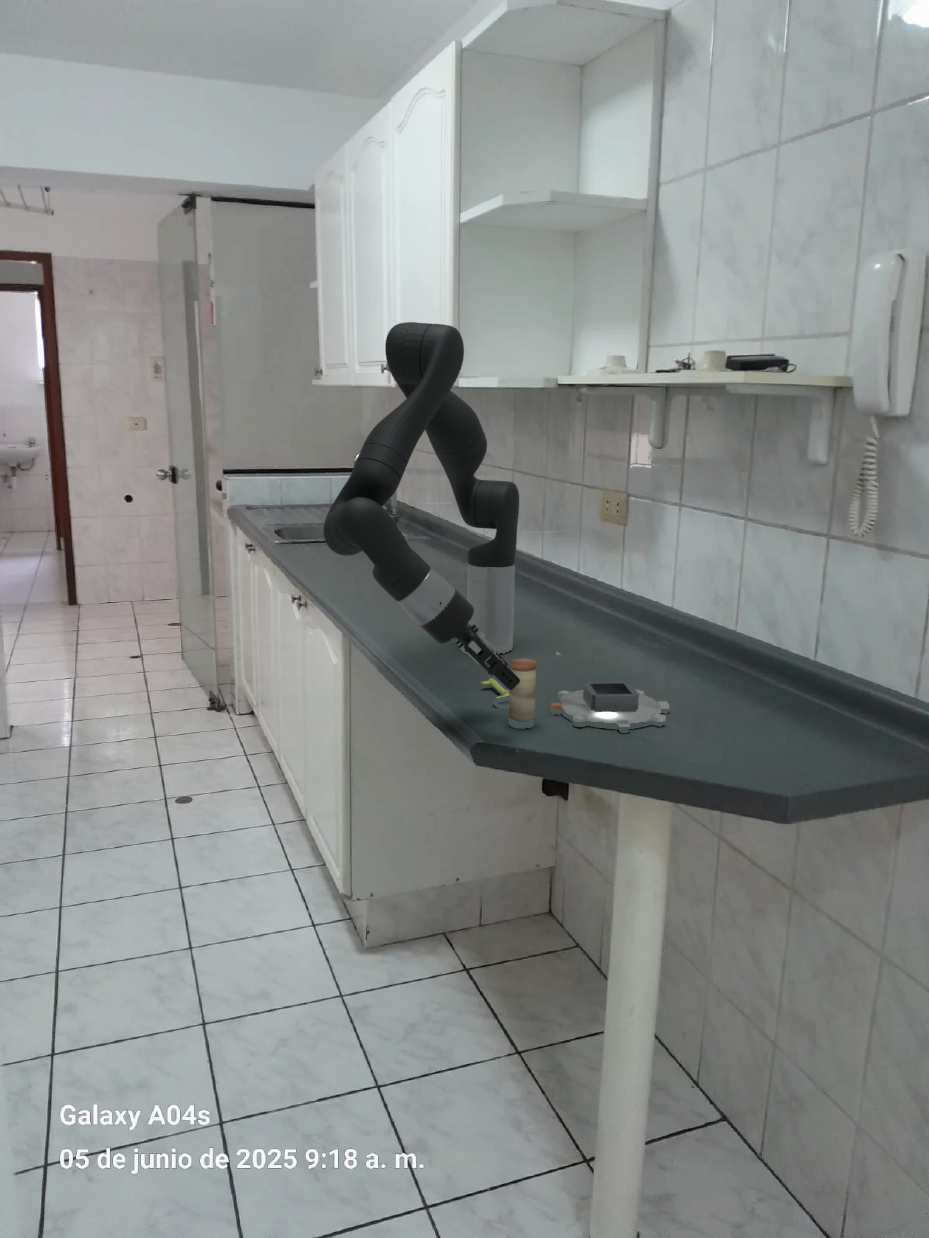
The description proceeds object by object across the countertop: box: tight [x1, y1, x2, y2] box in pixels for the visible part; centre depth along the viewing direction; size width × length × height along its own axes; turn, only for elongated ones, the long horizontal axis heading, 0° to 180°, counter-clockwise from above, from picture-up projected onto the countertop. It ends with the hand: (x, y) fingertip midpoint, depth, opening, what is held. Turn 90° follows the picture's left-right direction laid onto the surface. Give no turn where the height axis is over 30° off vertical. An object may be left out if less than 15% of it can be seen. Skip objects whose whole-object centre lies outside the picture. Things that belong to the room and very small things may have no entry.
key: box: [480, 678, 509, 698], centre depth 158 cm, size 7×12×2 cm, turn 40°
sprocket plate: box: [549, 681, 670, 727], centre depth 151 cm, size 19×19×4 cm
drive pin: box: [508, 658, 538, 722], centre depth 144 cm, size 4×4×10 cm
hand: (509, 676), depth 144 cm, fingers open, 8 cm apart
